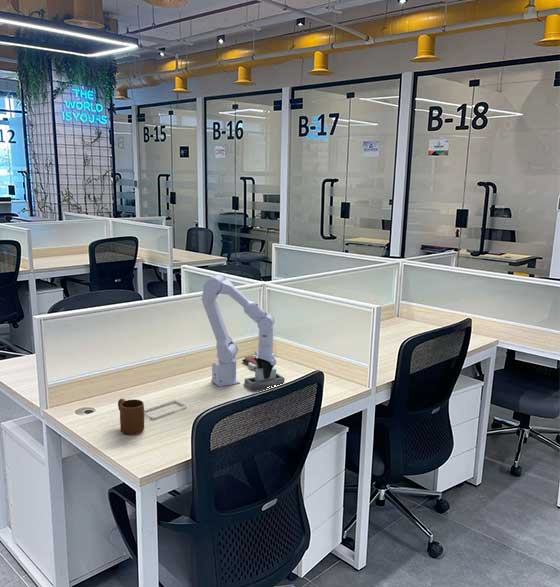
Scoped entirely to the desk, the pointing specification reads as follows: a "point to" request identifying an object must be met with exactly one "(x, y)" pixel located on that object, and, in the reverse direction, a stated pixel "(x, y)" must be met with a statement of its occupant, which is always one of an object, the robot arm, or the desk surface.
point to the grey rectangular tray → (263, 383)
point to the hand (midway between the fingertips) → (264, 376)
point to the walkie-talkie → (251, 362)
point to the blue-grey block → (260, 376)
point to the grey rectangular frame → (166, 412)
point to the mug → (131, 416)
